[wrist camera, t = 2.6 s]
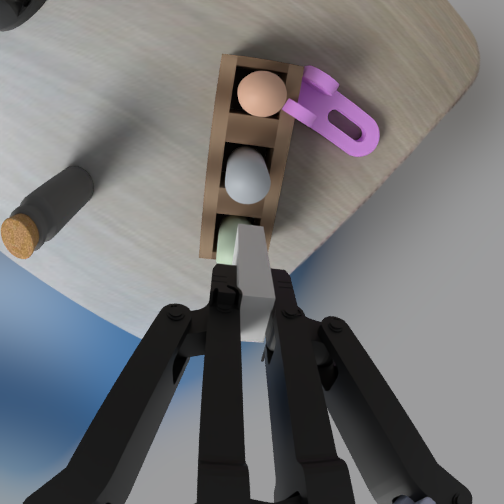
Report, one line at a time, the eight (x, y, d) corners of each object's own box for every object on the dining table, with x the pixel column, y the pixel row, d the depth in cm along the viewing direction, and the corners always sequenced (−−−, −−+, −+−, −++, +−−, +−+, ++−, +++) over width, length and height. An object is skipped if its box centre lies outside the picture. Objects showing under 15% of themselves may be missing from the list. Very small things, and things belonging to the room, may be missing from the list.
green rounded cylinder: (220, 212, 35) (218, 240, 29) (255, 216, 35) (259, 244, 30) (217, 242, 37) (214, 273, 31) (250, 245, 37) (253, 277, 32)
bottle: (100, 178, 36) (42, 232, 23) (85, 212, 38) (32, 273, 25) (67, 158, 34) (1, 202, 21) (54, 192, 36) (-6, 245, 23)
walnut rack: (224, 58, 29) (222, 53, 24) (293, 69, 30) (304, 66, 25) (203, 233, 41) (199, 257, 36) (261, 239, 42) (265, 264, 37)
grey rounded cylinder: (229, 144, 31) (227, 158, 25) (267, 149, 31) (274, 164, 26) (224, 179, 33) (222, 201, 27) (261, 183, 33) (266, 206, 28)
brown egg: (240, 71, 27) (241, 67, 21) (279, 77, 27) (290, 75, 21) (234, 107, 29) (234, 113, 23) (273, 113, 29) (282, 120, 24)
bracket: (274, 104, 32) (281, 109, 27) (299, 67, 30) (312, 64, 24) (359, 162, 36) (380, 179, 30) (382, 129, 34) (408, 140, 28)
